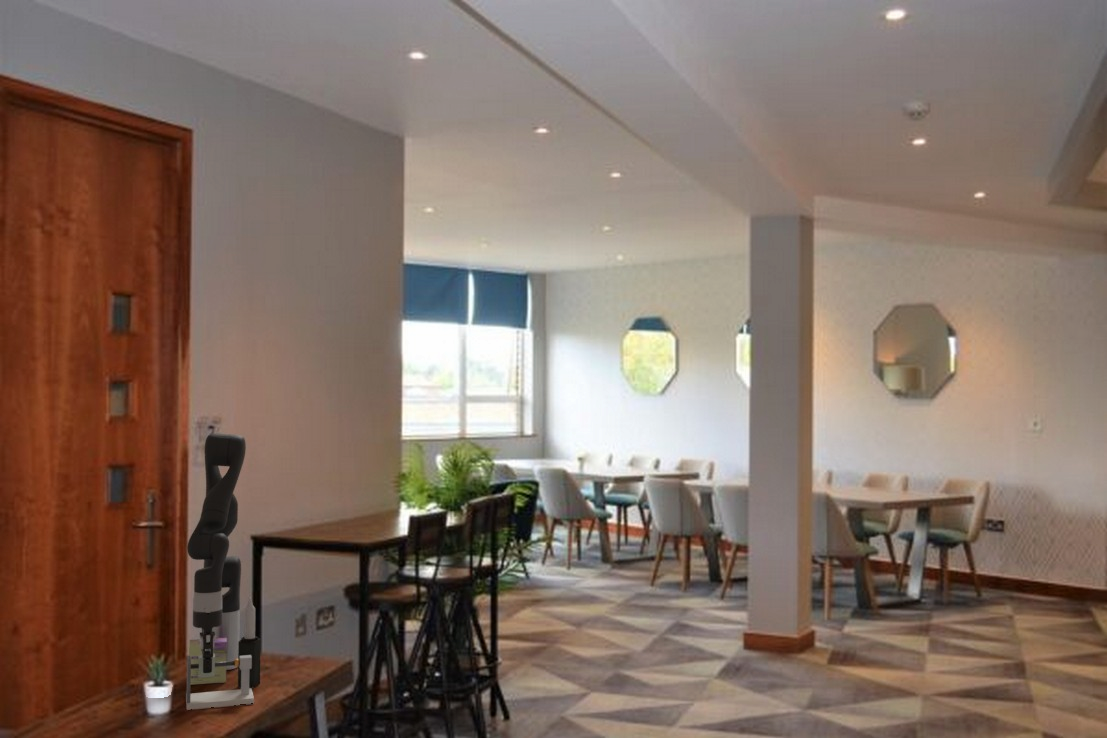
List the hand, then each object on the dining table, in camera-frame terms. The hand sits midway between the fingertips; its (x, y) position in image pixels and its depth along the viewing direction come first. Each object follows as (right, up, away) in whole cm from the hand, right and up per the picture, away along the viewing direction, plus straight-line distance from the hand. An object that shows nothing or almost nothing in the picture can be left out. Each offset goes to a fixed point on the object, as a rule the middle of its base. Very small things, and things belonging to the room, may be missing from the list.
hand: (206, 668), depth 281 cm
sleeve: (0, -2, 0) cm, 2 cm away
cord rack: (+3, -9, +1) cm, 10 cm away
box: (-7, -10, +21) cm, 24 cm away
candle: (+6, -10, +17) cm, 21 cm away
